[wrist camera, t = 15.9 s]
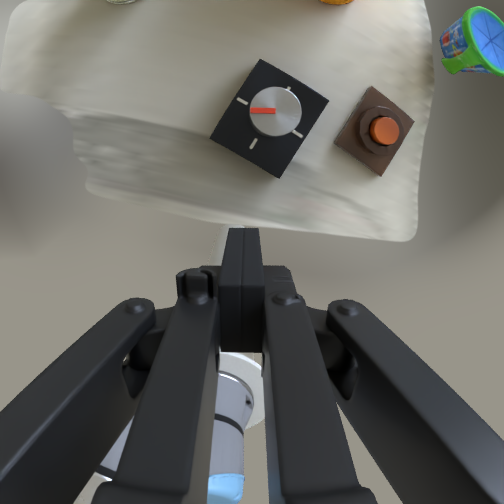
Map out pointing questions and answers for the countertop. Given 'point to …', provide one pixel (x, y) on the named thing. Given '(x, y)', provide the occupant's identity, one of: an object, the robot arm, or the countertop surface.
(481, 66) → the snack cup
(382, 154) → the button block
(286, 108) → the dial
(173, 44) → the countertop surface
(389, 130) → the button
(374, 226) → the countertop surface
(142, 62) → the countertop surface
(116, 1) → the coffee can
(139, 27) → the countertop surface
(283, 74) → the control panel
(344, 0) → the beer bottle
